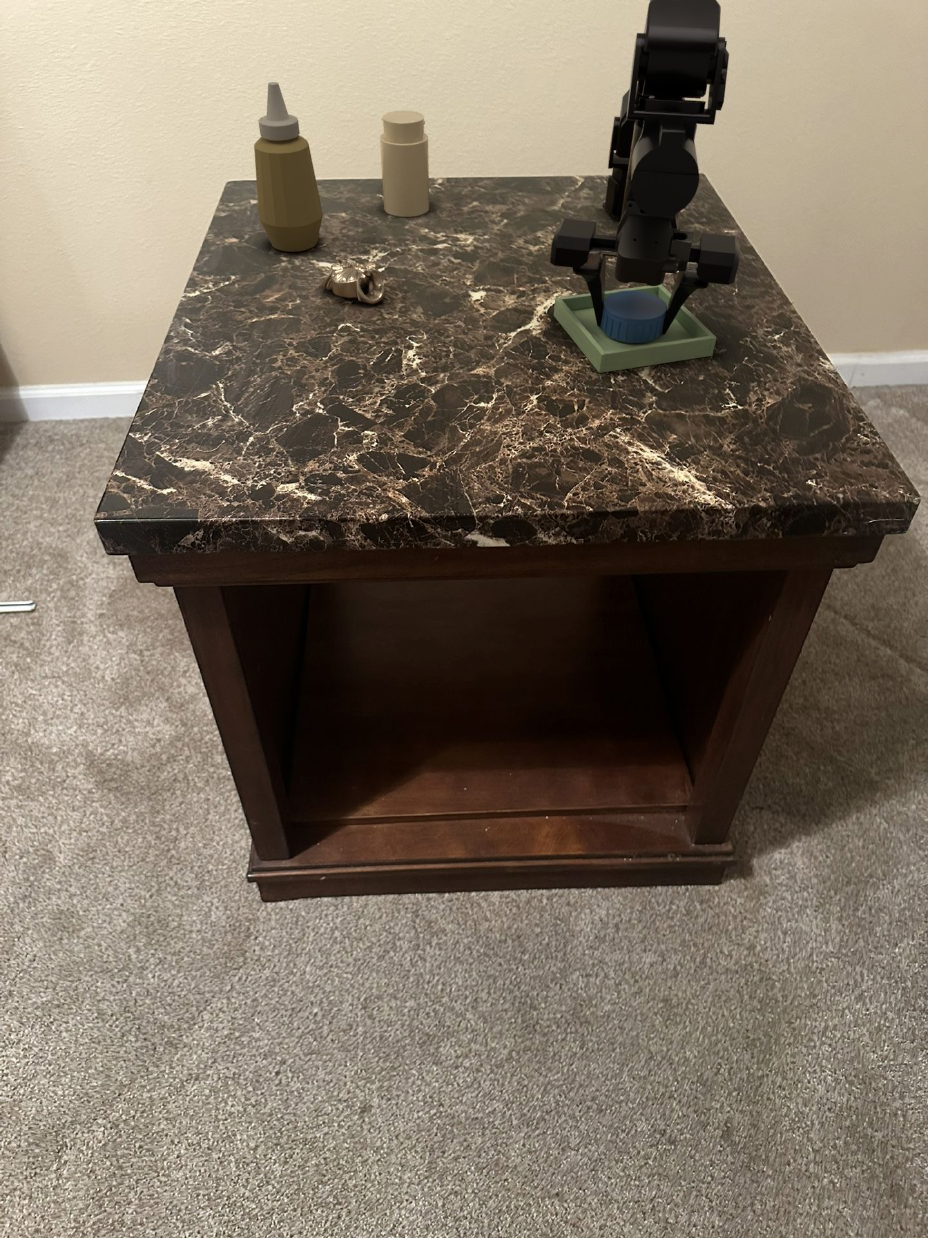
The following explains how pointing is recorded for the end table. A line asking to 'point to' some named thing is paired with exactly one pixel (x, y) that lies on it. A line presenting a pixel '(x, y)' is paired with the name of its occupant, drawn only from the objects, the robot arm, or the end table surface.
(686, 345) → the tray
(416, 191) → the jar
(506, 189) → the end table surface
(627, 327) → the lid
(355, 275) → the ornament
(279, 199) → the squeeze bottle
